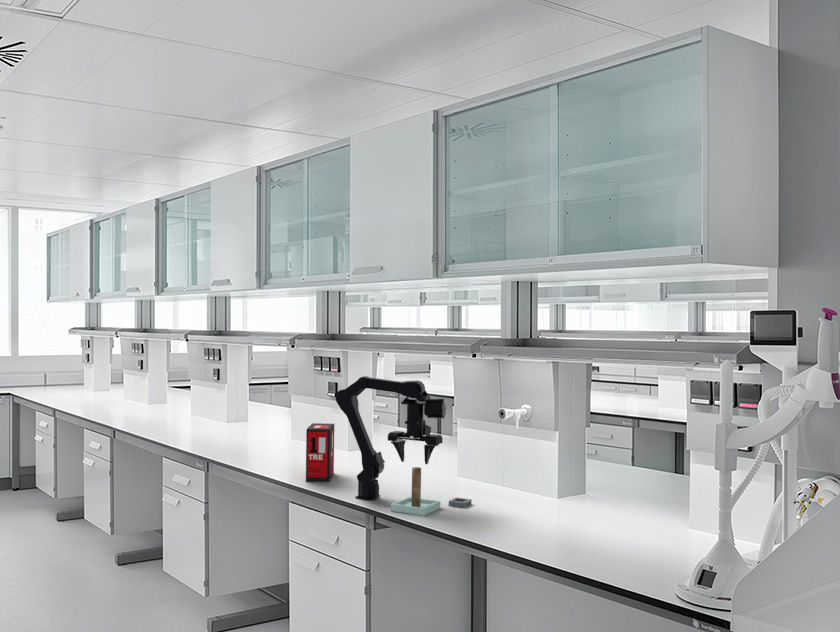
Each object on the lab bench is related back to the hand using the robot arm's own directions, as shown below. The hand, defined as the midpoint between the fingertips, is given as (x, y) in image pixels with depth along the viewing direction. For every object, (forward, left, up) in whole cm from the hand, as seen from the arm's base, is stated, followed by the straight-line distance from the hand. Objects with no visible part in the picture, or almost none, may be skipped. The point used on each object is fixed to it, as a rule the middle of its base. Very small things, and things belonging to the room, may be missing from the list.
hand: (414, 463), depth 264 cm
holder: (+16, +3, -13) cm, 21 cm away
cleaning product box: (-50, +16, -13) cm, 54 cm away
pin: (+6, -10, -12) cm, 17 cm away
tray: (+6, -10, -13) cm, 17 cm away
